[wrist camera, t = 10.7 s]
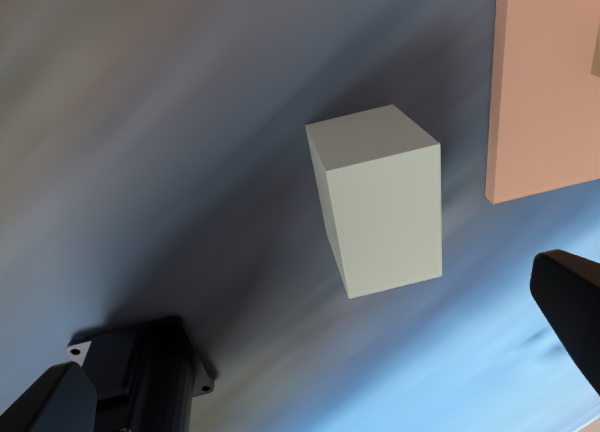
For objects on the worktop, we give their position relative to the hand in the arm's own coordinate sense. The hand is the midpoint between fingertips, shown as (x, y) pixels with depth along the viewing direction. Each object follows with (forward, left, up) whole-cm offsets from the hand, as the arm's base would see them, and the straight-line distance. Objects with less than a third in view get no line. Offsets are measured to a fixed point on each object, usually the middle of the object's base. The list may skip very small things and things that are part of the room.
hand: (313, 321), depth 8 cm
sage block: (-3, -4, -12) cm, 13 cm away
